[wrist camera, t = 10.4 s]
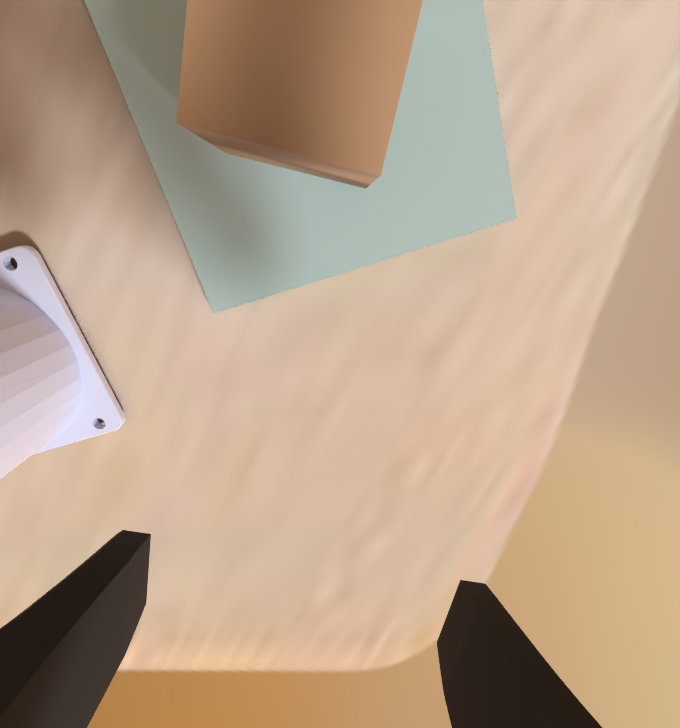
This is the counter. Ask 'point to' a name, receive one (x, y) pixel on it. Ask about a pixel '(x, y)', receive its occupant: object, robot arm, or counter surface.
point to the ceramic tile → (312, 193)
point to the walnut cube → (297, 81)
